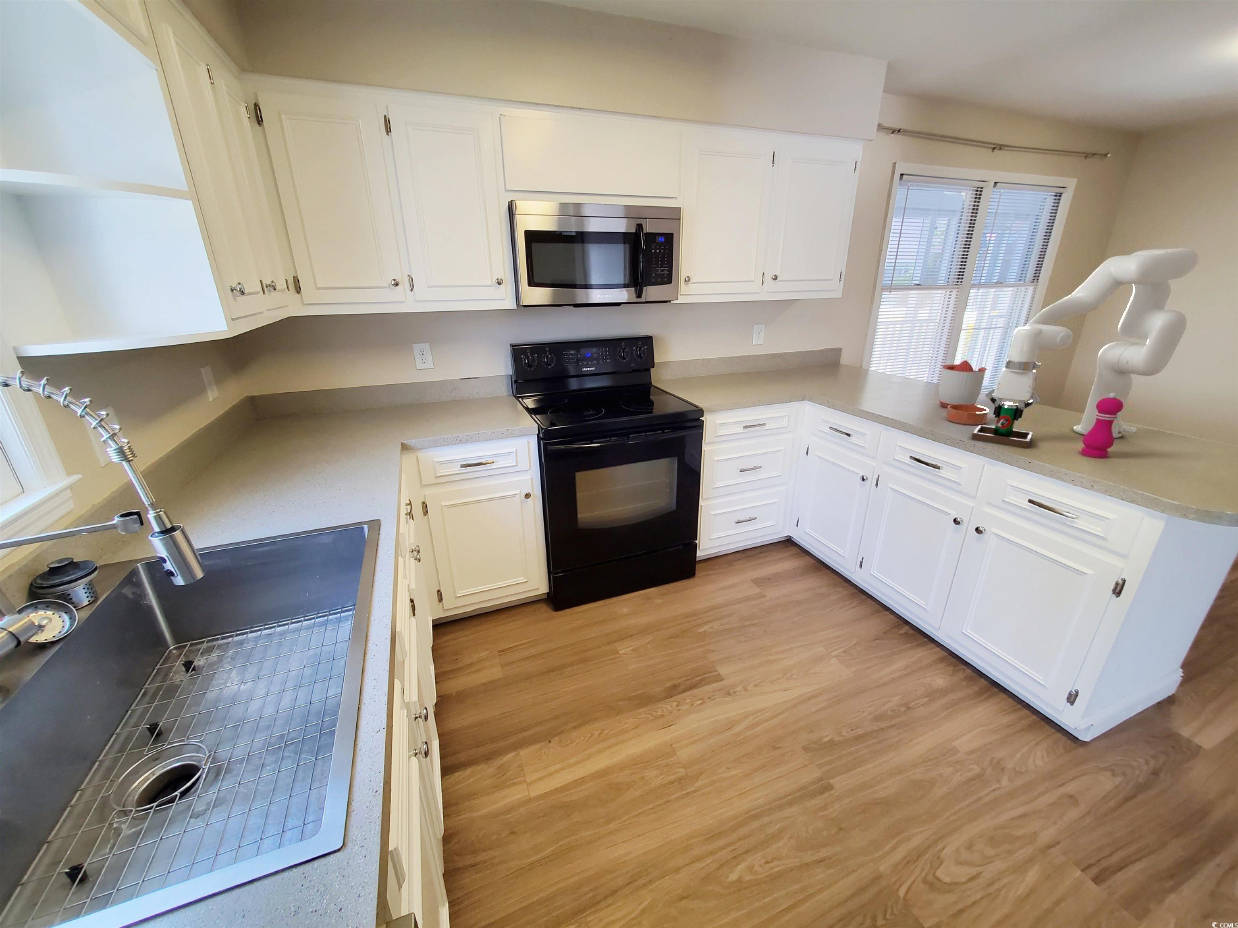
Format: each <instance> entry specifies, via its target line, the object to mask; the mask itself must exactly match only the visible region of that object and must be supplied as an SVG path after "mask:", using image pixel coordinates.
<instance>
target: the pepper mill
mask: <svg viewBox="0 0 1238 928" xmlns="http://www.w3.org/2000/svg"><path fill="white" fill-rule="evenodd" d="M1116 397H1117V394H1116V393H1111V394H1109V397H1108V398H1103V399H1101V400H1099V401H1098V402H1097V404H1096V409H1097V410H1098V412H1096V415H1095V417H1096V422H1095V424H1094V426H1093V427H1092V428H1091V429H1090V430H1089V431H1088V432H1087V433H1086V434H1085V435H1084V436H1083V437H1082V439H1081V442H1082V444H1083V446H1082V447H1081V448H1080V454H1081V455H1083V456H1085V457H1086V456H1087V457H1090V458H1095V459H1105V458H1107V457H1108V455H1109V449H1111V448H1112V447H1113V446H1114V444H1115V438H1114V437H1113V433H1112V425H1113V422H1114V420H1116V419H1117V416H1118V414H1117V413H1119V412H1120V411H1122V409H1123V402H1122V401H1121V400H1119V399H1117V398H1116Z"/></svg>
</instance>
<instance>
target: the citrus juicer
mask: <svg viewBox="0 0 1238 928" xmlns="http://www.w3.org/2000/svg"><path fill="white" fill-rule="evenodd" d="M941 368H942V369H941V374H940V379H939V384H938V401H939V402H938V403H939V405H940V406H941V407H944V408H946V409H948V406H949V405H954V404H968V405H975V404H976V402H977V401H978V400H979V397H980V394H981V392H982V388H983V384H984V379H985V375H986V371H987V367H985V366H981V367H979V368H978V370H974V368H973V366H972V364H971V363H970V362H969V361H968V360H966V359H964V360H962V361H961V362H960V363H959V364H955V363H953V364H945V365H942V366H941Z"/></svg>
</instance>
